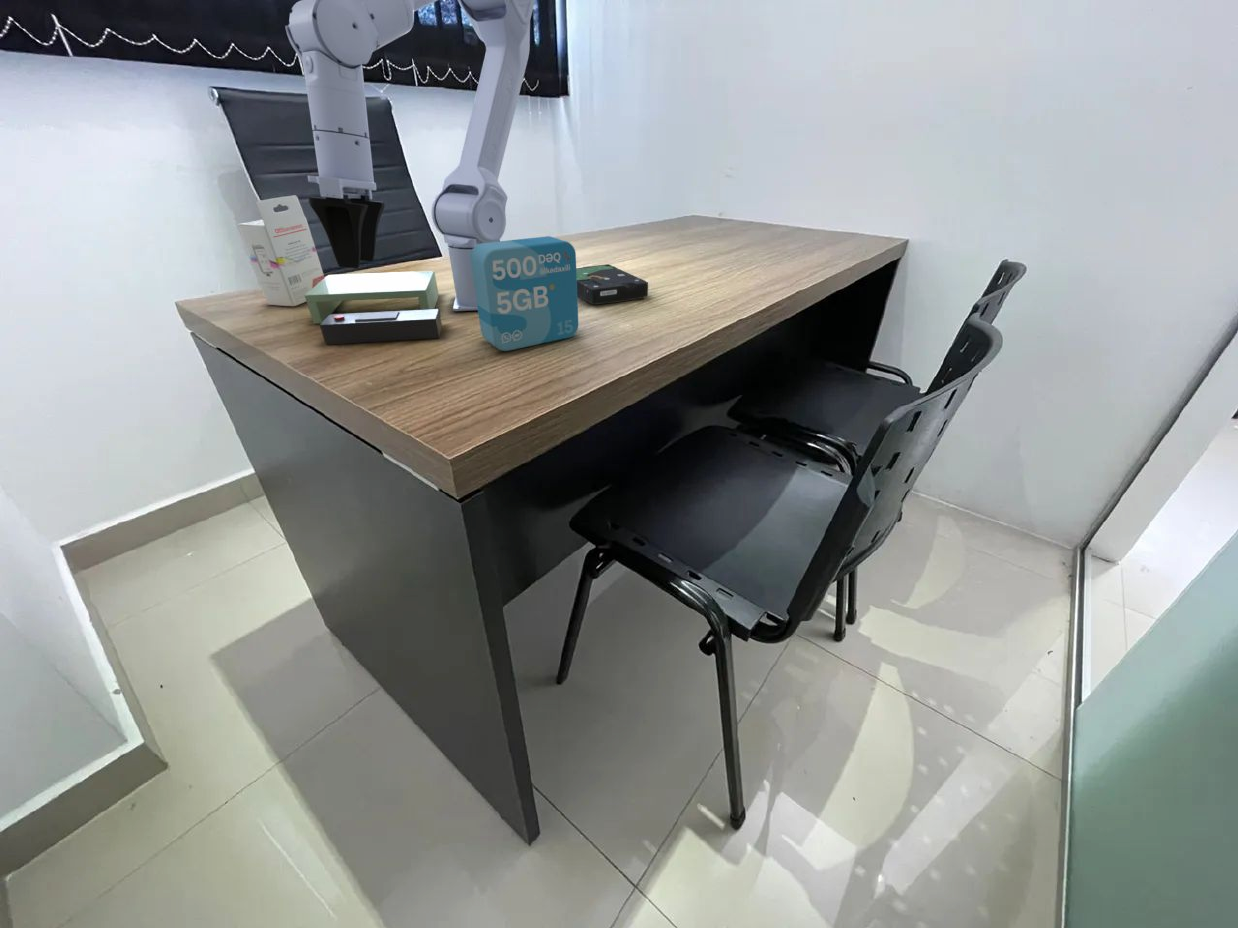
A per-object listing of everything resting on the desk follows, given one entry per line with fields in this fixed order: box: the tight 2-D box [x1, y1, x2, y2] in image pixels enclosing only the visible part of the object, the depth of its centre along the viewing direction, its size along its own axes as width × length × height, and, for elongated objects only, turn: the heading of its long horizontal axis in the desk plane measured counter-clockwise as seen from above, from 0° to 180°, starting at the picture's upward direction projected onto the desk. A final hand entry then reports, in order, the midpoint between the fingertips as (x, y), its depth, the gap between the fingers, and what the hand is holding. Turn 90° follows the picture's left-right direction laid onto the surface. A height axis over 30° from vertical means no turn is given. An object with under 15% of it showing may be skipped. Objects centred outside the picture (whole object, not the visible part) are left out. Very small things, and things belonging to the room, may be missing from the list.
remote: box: [319, 308, 443, 346], centre depth 68 cm, size 14×4×3 cm, turn 101°
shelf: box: [305, 270, 440, 325], centre depth 77 cm, size 16×12×4 cm
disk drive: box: [576, 263, 649, 305], centre depth 87 cm, size 10×3×15 cm
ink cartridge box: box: [236, 194, 325, 307], centre depth 79 cm, size 9×5×15 cm, turn 168°
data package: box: [470, 235, 579, 352], centre depth 64 cm, size 12×4×12 cm, turn 124°
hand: (357, 263), depth 64 cm, fingers open, 7 cm apart
